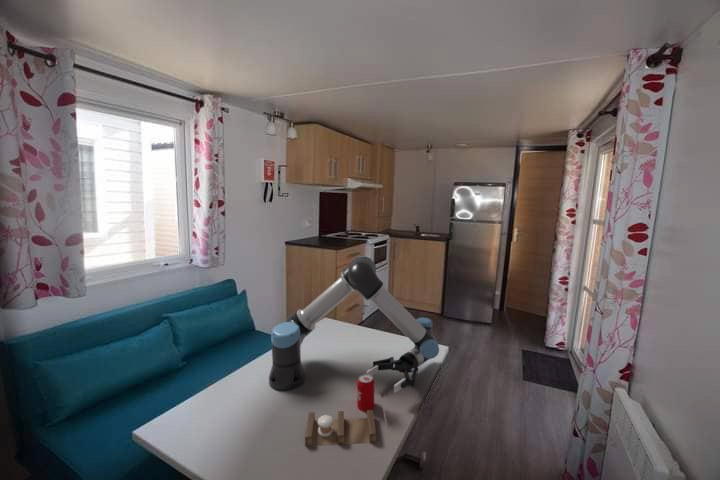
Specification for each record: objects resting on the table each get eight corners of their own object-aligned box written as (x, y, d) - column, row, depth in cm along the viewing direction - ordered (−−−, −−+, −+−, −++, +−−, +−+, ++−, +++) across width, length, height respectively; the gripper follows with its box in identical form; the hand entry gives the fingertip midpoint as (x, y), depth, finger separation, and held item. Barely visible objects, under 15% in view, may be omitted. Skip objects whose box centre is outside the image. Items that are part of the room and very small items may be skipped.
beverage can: (364, 400, 119) (364, 371, 117) (377, 407, 115) (377, 377, 113) (353, 409, 114) (353, 378, 112) (367, 416, 110) (367, 385, 109)
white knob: (317, 437, 99) (317, 426, 99) (318, 426, 104) (318, 415, 104) (333, 437, 99) (332, 425, 99) (333, 425, 104) (333, 414, 104)
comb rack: (305, 448, 96) (304, 436, 96) (309, 423, 107) (308, 412, 106) (376, 445, 97) (376, 433, 97) (372, 420, 108) (372, 409, 108)
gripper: (436, 379, 127) (407, 405, 111) (388, 358, 144) (356, 378, 128) (437, 362, 126) (407, 385, 110) (388, 343, 143) (356, 361, 127)
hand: (380, 381), depth 119 cm, fingers open, 13 cm apart
